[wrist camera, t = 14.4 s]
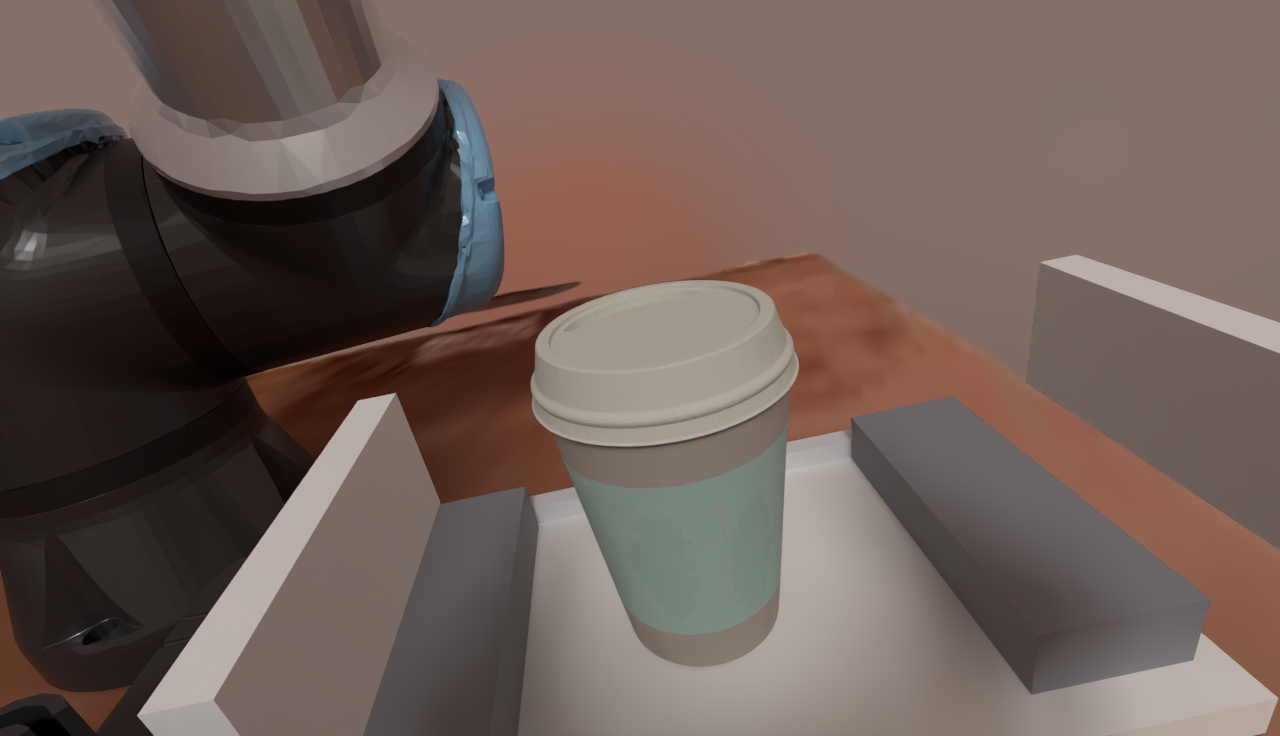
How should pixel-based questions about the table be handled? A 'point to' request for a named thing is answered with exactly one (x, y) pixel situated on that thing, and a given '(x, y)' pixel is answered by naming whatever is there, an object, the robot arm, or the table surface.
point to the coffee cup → (677, 455)
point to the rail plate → (830, 613)
